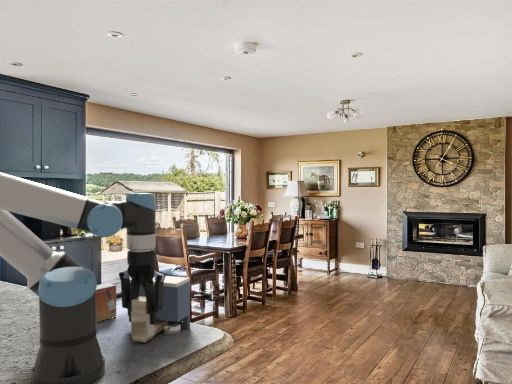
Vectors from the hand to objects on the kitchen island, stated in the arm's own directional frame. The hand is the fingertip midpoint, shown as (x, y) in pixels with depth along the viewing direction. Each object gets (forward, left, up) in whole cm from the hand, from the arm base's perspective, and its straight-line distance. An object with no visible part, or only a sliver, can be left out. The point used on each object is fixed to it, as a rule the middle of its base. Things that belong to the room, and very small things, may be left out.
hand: (142, 334), depth 112 cm
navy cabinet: (+10, +2, -2) cm, 11 cm away
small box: (+12, +24, -2) cm, 27 cm away
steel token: (+9, -4, -2) cm, 10 cm away
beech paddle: (+4, 0, -1) cm, 5 cm away
